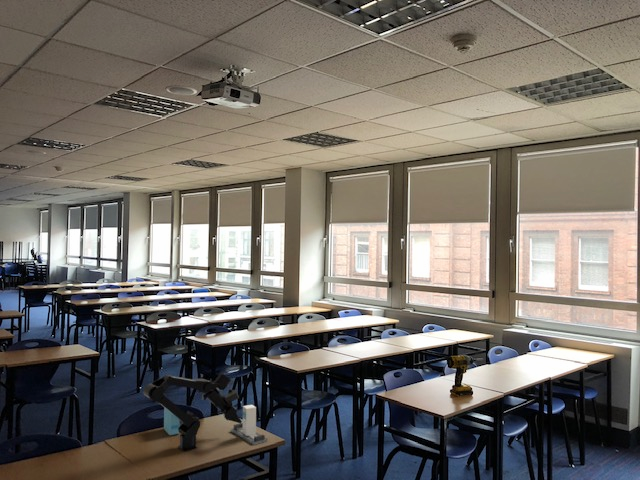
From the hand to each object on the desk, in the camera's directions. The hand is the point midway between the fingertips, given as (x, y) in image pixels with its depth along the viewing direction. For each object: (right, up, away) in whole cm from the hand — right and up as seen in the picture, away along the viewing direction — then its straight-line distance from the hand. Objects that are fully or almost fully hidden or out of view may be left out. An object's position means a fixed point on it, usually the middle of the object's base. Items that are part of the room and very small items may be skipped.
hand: (239, 419), depth 241 cm
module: (+5, -7, +1) cm, 9 cm away
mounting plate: (+4, -9, +2) cm, 10 cm away
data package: (-35, -9, +7) cm, 37 cm away
